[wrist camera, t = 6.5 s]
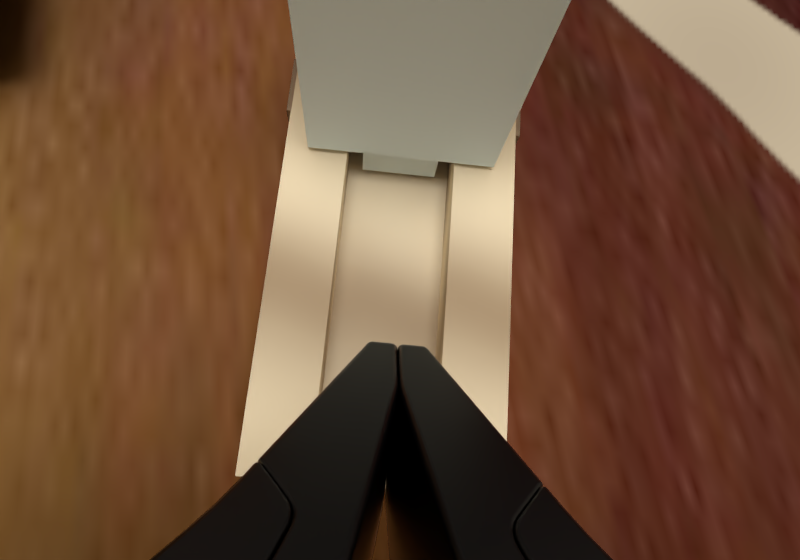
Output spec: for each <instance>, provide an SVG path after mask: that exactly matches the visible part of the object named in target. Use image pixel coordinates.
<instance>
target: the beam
mask: <svg viewBox="0 0 800 560" xmlns="http://www.w3.org/2000/svg"><path fill="white" fill-rule="evenodd" d="M287 115H288V121H289V126H288V133H287V139H286V146H285V152H284V159H283V165H282V172H281V178H280V185H279V191H278V198H277V205H276V211H275V218H274V224H273V231H272V237H271V244H270V250H269V257H268V263H267V270H266V277H265V283H264V290H263V296H262V303H261V309H260V316H259V322H258V329H257V335H256V342H255V349H254V355H253V362H252V368H251V375H250V381H249V388H248V394H247V401H246V407H245V414H244V421H243V427H242V434H241V440H240V447H239V453H238V460H237V466H236V473H235V476H243V475H244V474H245V473H246V472H247V471H248V470H249V469H250V467H251V466H252V465H253V464H254V463H256V462H258V460H259V458H260V457H261V456H262V455H263V454H264V453H265V452H266V451H267V450H268V449H269V448H270V447H271V446H272V444H273V443H274V442H275V441H276V440H277V439H278V438H279V437H280V436H281V435H282V434H283V433H284V432H285V431H286V430H287V428H288V427H289V426H290V425H291V424H292V423H293V422H294V421H295V420H296V419H297V418H298V417H299V416H300V415H301V414H302V412H303V411H304V410H305V409H306V408H307V407H308V406H309V405H310V404H311V403H312V402H313V401H314V400H315V399H316V398H317V396H318V395H319V394H320V393H321V392H322V391H323V390H324V389H325V388H326V387H327V386H328V385H329V384H330V383H331V382H332V381H333V379H334V378H335V377H336V376H337V375H338V374H339V373H340V372H341V371H342V370H343V369H344V368H345V367H346V366H347V365H348V363H349V362H350V361H351V360H352V359H353V358H354V357H355V356H356V355H357V354H358V353H359V352H360V351H361V350H362V349H363V347H364V346H365V345H366V344H367V343H368V342H371V341H374V342H384V343H393V344H395V345H396V346H397V348H398V347H399V346H400V345H402V344H405V345H416V346H424V347H426V348H427V349H428V350H429V351H430V352H431V353H432V354H433V355H434V357H435V358H436V359H437V360H438V361H439V362H440V364H441V365H442V366H443V367H444V368H445V369H446V371H447V372H448V373H449V374H450V375H451V377H452V378H453V379H454V380H455V381H456V382H457V384H458V385H459V386H460V387H461V388H462V389H463V391H464V392H465V393H466V394H467V395H468V396H469V398H470V399H471V400H472V401H473V402H474V403H475V405H476V406H477V407H478V408H479V409H480V411H481V412H482V413H483V414H484V415H485V416H486V418H487V419H488V420H489V421H490V422H491V423H492V425H493V426H494V427H495V428H496V429H497V430H498V432H499V433H500V434H501V435H502V436H503V438H504V439H505V440H506V441H507V417H508V382H509V348H510V313H511V279H512V245H513V210H514V176H515V145H516V143H517V141H518V139H519V136H520V111H519V113H518V116H517V118H516V120H515V122H514V124H513V126H512V129H511V131H510V133H509V135H508V137H507V139H506V142H505V144H504V146H503V148H502V150H501V152H500V155H499V157H498V159H497V161H496V163H495V165H494V167H486V166H477V165H468V164H459V163H449V162H440V161H438V165H437V169H436V172H435V176H434V177H428V176H418V175H409V174H400V173H390V172H381V171H372V170H363V153H357V152H348V151H339V150H329V149H320V148H311V147H308V145H307V137H306V130H305V123H304V115H303V108H302V100H301V93H300V86H299V78H298V71H297V64H296V59H295V60H294V66H293V72H292V79H291V85H290V92H289V98H288V105H287ZM385 489H386V485H385Z"/></svg>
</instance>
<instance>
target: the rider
mask: <svg viewBox="0 0 800 560" xmlns="http://www.w3.org/2000/svg"><path fill="white" fill-rule="evenodd" d="M570 1H571V0H288V4H289V12H290V19H291V27H292V34H293V41H294V49H295V56H296V64H297V71H298V78H299V86H300V93H301V100H302V108H303V115H304V123H305V130H306V137H307V145H308V147H311V148H320V149H329V150H339V151H348V152H357V153H363V170H372V171H381V172H390V173H400V174H409V175H418V176H428V177H434V176H435V172H436V169H437V165H438V161H440V162H449V163H459V164H468V165H477V166H486V167H494V165H495V163H496V161H497V159H498V157H499V155H500V152H501V150H502V148H503V146H504V144H505V142H506V139H507V137H508V135H509V133H510V131H511V129H512V126H513V124H514V122H515V120H516V118H517V116H518V113H519V111H520V109H521V107H522V105H523V103H524V100H525V98H526V96H527V94H528V92H529V90H530V88H531V85H532V83H533V81H534V79H535V77H536V75H537V72H538V70H539V68H540V66H541V64H542V62H543V59H544V57H545V55H546V53H547V51H548V49H549V46H550V44H551V42H552V40H553V38H554V36H555V33H556V31H557V29H558V27H559V25H560V23H561V20H562V18H563V16H564V14H565V12H566V10H567V7H568V5H569V3H570Z"/></svg>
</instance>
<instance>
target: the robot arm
mask: <svg viewBox="0 0 800 560" xmlns="http://www.w3.org/2000/svg"><path fill="white" fill-rule="evenodd" d="M385 485H386V492H385ZM384 492H385V499H386V518H387V532H388V546H389V559H390V560H613V559H612V558H611V557H610V556H609V555H608V554H607V553H606V552H605V551H604V550H603V549H602V548H601V547H600V546H599V545H598V544H597V543H596V542H595V541H594V540H593V539H592V538H591V537H590V536H589V535H588V534H587V533H586V532H585V531H584V530H583V529H582V527H581V526H580V525H579V524H578V523H577V522H576V521H575V520H574V519H573V517H572V516H571V515H570V514H569V513H568V512H567V511H566V510H565V509H564V507H563V506H562V505H561V504H560V503H559V502H558V501H557V499H556V498H555V497H554V496H553V495H552V493H551V492H550V491H549V490H548V489H547V488H546V487H543V484H542V482H541V481H540V480H539V479H538V477H537V476H536V475H535V474H534V473H533V472H532V470H531V469H530V468H529V467H528V466H527V465H526V463H525V462H524V461H523V460H522V459H521V457H520V456H519V455H518V454H517V453H516V452H515V450H514V449H513V448H512V447H511V446H510V445H509V443H508V442H507V441H506V440H505V439H504V438H503V436H502V435H501V434H500V433H499V432H498V430H497V429H496V428H495V427H494V426H493V425H492V423H491V422H490V421H489V420H488V419H487V418H486V416H485V415H484V414H483V413H482V412H481V411H480V409H479V408H478V407H477V406H476V405H475V403H474V402H473V401H472V400H471V399H470V398H469V396H468V395H467V394H466V393H465V392H464V391H463V389H462V388H461V387H460V386H459V385H458V384H457V382H456V381H455V380H454V379H453V378H452V377H451V375H450V374H449V373H448V372H447V371H446V369H445V368H444V367H443V366H442V365H441V364H440V362H439V361H438V360H437V359H436V358H435V357H434V355H433V354H432V353H431V352H430V351H429V350H428V349H427V348H426V347H424V346H416V345H405V344H402V345H400V346H399V347H398V348H397V346H396V345H395V344H393V343H384V342H374V341H371V342H368V343H367V344H366V345H365V346H364V347H363V349H362V350H361V351H360V352H359V353H358V354H357V355H356V356H355V357H354V358H353V359H352V360H351V361H350V362H349V363H348V365H347V366H346V367H345V368H344V369H343V370H342V371H341V372H340V373H339V374H338V375H337V376H336V377H335V378H334V379H333V381H332V382H331V383H330V384H329V385H328V386H327V387H326V388H325V389H324V390H323V391H322V392H321V393H320V394H319V395H318V396H317V398H316V399H315V400H314V401H313V402H312V403H311V404H310V405H309V406H308V407H307V408H306V409H305V410H304V411H303V412H302V414H301V415H300V416H299V417H298V418H297V419H296V420H295V421H294V422H293V423H292V424H291V425H290V426H289V427H288V428H287V430H286V431H285V432H284V433H283V434H282V435H281V436H280V437H279V438H278V439H277V440H276V441H275V442H274V443H273V444H272V446H271V447H270V448H269V449H268V450H267V451H266V452H265V453H264V454H263V455H262V456H261V457H260V458H259V460H258V462H256V463H254V464H253V465H252V466H251V467H250V469H249V470H248V471H247V472H246V473H245V474H244V475H243V476H242V477H241V478H240V479H239V480H238V481H237V482H236V483H235V484H234V485H233V486H232V487H231V488H230V489H229V490H228V491H227V492H226V493H225V494H224V495H223V496H222V497H221V498H220V499H219V500H218V501H217V502H216V503H215V504H214V505H213V506H212V507H211V508H210V509H209V510H207V511H206V512H205V513H204V514H203V515H202V516H200V517H199V518H198V519H197V520H196V521H195V522H194V523H192V524H191V525H190V526H189V527H188V528H187V529H186V530H184V531H183V532H182V533H181V534H180V535H179V536H178V537H176V538H175V539H174V540H173V541H171V542H170V543H169V544H168V545H167V546H165V547H164V548H163V549H162V550H161V551H159V552H158V553H157V554H156V555H155V556H153V557H152V558H151V559H150V560H372V557H373V552H374V547H375V542H376V537H377V532H378V527H379V522H380V517H381V511H382V505H383V499H384Z"/></svg>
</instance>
